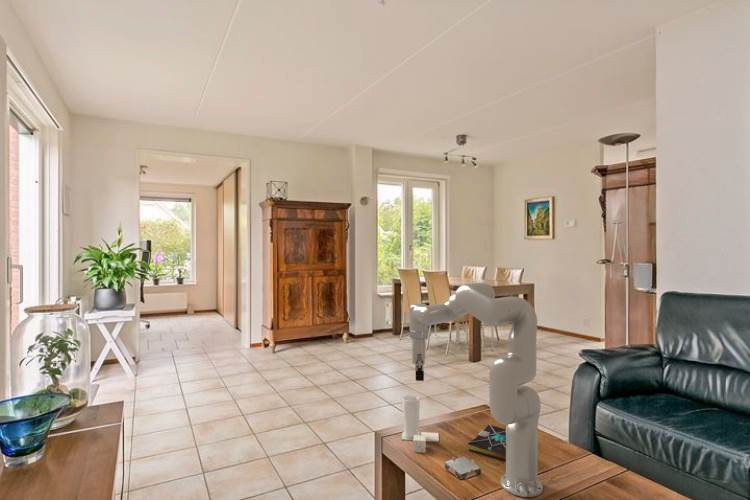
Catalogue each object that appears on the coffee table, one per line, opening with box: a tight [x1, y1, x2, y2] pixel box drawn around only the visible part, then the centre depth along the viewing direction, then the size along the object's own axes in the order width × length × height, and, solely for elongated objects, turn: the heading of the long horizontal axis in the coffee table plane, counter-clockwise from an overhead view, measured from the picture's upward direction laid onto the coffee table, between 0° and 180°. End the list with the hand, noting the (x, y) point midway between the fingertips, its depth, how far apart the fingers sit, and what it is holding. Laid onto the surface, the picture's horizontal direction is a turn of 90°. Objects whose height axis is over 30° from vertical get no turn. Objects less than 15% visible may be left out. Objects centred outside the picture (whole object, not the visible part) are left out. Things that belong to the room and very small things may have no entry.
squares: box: [401, 430, 440, 443], centre depth 172 cm, size 7×14×1 cm, turn 84°
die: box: [412, 434, 427, 454], centre depth 161 cm, size 5×4×5 cm
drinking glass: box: [402, 395, 420, 438], centre depth 172 cm, size 7×7×15 cm
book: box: [466, 423, 506, 463], centre depth 164 cm, size 22×17×5 cm
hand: (419, 376), depth 173 cm, fingers open, 9 cm apart
